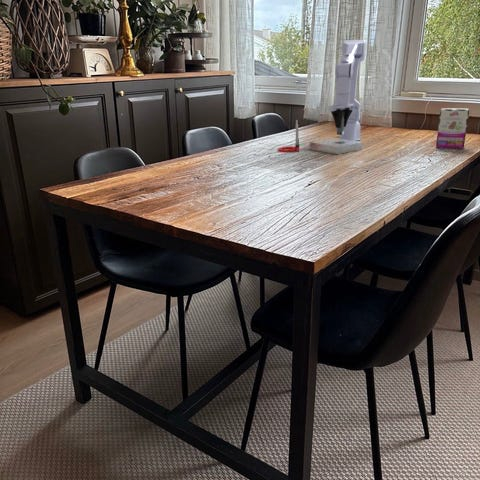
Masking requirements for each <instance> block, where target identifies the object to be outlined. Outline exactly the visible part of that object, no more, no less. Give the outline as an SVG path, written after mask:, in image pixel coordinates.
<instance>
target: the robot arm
mask: <svg viewBox="0 0 480 480" xmlns="http://www.w3.org/2000/svg"><path fill="white" fill-rule="evenodd" d="M341 45H342V46H341V54H342V56H341V58H340V61H339V63H338V64H336V66H335V73H334V75H335V83H336V84H335V86H336V87H335V100H334V101H335V103H334V104H333V105H329V106H328V112H330V113H331V115H332V117H333V118H332V119H333V120H334V126H335V128H336V129H337V128H341V123H342V117H343V114H344V113H345V117H344V134H343V135H339V139H346V140H353V141H360V140H362V138H361V123H360V122H359V120H361V111H362V109H361V107H362V105H361V103H360V102H359V101H358V100H357V99H356V95H357V87H358V86H357V85H358V76H359V66H360V64H361V62H362V61H364V60H365V58H366V51H367V50H366V49H367V42H366V40H365V39H352V40H350V39H349V40H348V39H347V40H346V39H344V40H343V41H342V44H341Z"/></svg>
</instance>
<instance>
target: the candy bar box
mask: <svg viewBox="0 0 480 480" xmlns="http://www.w3.org/2000/svg"><path fill="white" fill-rule="evenodd" d="M469 116H470V109H469V108H461V107H459V108H458V107H457V108H456V107H455V108H451V107H450V108H449V107H448V108H447V107H445V108H442V107H441V108H440V111H439V120H438V127H437V135H436V141H435V148H436V149H451V150H453V149H454V150H458V149H459V150H463V149H464V148H465V141H466V135H467V128H468V123H469V122H468V121H469Z"/></svg>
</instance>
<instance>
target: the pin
mask: <svg viewBox="0 0 480 480" xmlns="http://www.w3.org/2000/svg"><path fill="white" fill-rule="evenodd" d="M344 117H345V113H344V114H343V117H342V123H341V128H336V135H339V136H340V135H343V134H344Z"/></svg>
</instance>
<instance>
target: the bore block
mask: <svg viewBox="0 0 480 480" xmlns="http://www.w3.org/2000/svg"><path fill="white" fill-rule="evenodd" d="M309 150H314V151H317V152H324V153H330V154H334V155H335V154H336V155H341V154H345V153H346V154H347V153H349V152H350V153H351V152H355V151H360V150H363V141H360V140H358V141H353V140H346V139H340V137H331V138H330V137H329V138H325V139H320V140H314V141H309Z"/></svg>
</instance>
